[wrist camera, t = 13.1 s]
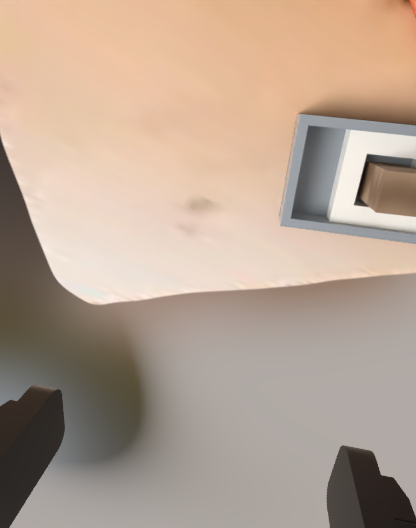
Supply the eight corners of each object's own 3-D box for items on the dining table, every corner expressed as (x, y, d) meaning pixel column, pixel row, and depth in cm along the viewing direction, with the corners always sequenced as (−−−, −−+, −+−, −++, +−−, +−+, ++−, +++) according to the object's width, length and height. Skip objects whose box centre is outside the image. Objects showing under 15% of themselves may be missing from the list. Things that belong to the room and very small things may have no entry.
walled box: (297, 114, 41) (300, 113, 37) (493, 133, 39) (520, 136, 35) (279, 215, 46) (280, 225, 42) (453, 238, 44) (472, 251, 39)
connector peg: (365, 160, 41) (387, 170, 34) (402, 164, 40) (432, 175, 33) (357, 195, 42) (375, 212, 35) (392, 199, 42) (418, 217, 35)
